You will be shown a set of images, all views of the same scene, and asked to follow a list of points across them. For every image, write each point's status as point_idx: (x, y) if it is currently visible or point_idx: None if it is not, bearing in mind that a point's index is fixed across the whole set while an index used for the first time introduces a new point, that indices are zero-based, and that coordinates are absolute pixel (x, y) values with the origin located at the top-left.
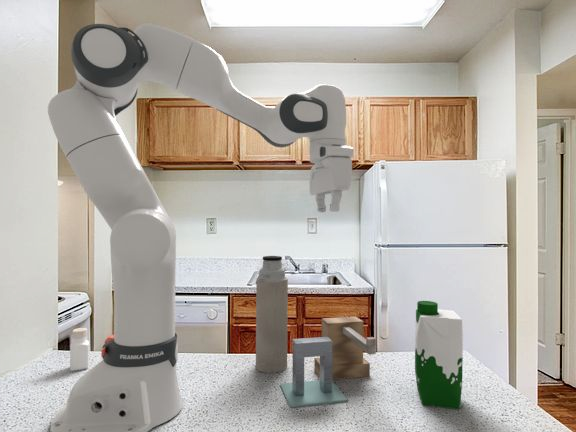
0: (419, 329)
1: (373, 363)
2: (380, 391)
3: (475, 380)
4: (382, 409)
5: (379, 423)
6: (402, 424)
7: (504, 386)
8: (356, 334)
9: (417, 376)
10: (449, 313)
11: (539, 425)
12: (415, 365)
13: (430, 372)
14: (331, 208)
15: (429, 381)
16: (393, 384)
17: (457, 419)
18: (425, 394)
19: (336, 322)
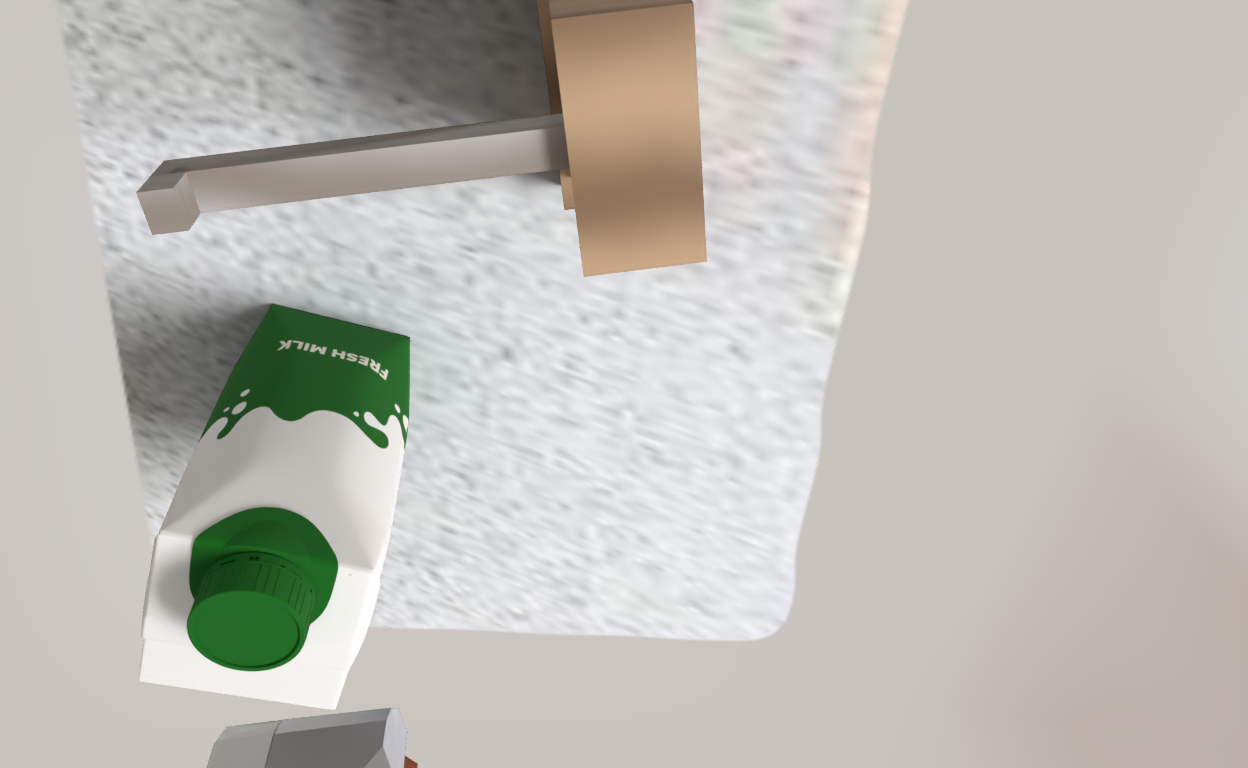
0: (212, 485)
1: (710, 250)
2: None
3: (490, 562)
4: (225, 134)
5: (101, 81)
6: (108, 171)
7: (437, 619)
8: (392, 171)
9: (292, 350)
10: (259, 674)
11: None
12: (319, 373)
13: (219, 399)
14: (241, 765)
15: (232, 375)
16: (466, 261)
17: (175, 376)
18: (255, 334)
19: (571, 91)
